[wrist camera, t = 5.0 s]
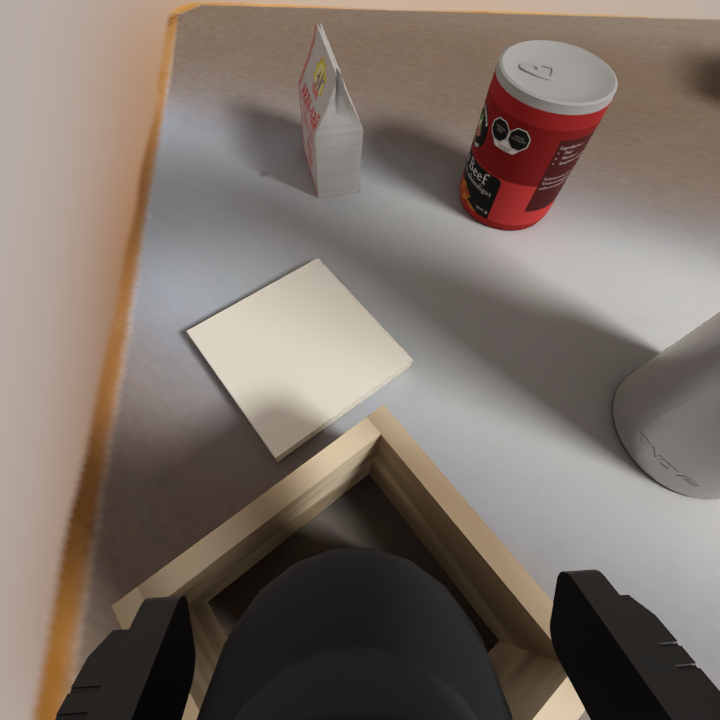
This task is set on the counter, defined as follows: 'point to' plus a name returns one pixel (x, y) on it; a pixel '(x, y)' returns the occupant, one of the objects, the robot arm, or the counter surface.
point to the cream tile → (298, 355)
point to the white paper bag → (329, 123)
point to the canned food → (533, 130)
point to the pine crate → (428, 521)
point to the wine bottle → (354, 648)
